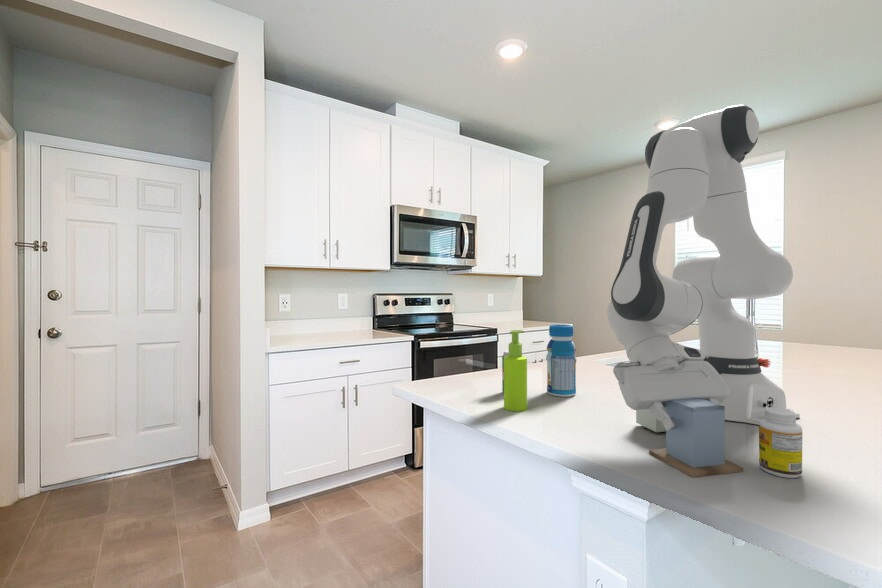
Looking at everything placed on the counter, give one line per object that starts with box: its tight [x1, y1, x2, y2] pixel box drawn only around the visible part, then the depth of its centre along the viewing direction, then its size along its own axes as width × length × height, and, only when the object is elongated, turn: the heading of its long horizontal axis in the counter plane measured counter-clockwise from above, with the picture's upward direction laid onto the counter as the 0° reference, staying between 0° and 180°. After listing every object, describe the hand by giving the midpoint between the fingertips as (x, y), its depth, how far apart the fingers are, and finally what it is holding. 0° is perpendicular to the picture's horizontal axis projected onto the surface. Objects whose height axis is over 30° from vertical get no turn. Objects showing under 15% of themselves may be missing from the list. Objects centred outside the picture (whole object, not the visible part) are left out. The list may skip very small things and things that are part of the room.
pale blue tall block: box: [665, 398, 726, 468], centre depth 72 cm, size 6×6×10 cm
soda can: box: [501, 351, 509, 394], centre depth 120 cm, size 5×5×12 cm
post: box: [648, 447, 744, 478], centre depth 72 cm, size 10×10×9 cm
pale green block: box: [635, 408, 666, 433], centre depth 89 cm, size 6×6×10 cm
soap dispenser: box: [503, 329, 528, 412], centre depth 106 cm, size 6×7×20 cm
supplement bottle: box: [758, 408, 803, 479], centre depth 68 cm, size 6×6×10 cm
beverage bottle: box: [545, 324, 577, 398], centre depth 119 cm, size 8×8×20 cm
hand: (696, 426), depth 72 cm, fingers open, 8 cm apart
